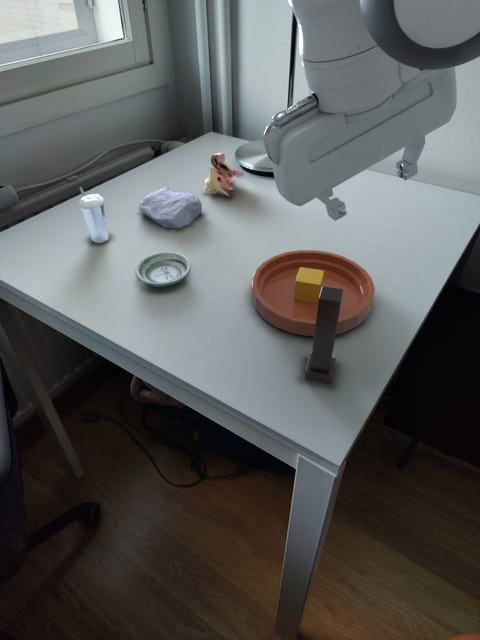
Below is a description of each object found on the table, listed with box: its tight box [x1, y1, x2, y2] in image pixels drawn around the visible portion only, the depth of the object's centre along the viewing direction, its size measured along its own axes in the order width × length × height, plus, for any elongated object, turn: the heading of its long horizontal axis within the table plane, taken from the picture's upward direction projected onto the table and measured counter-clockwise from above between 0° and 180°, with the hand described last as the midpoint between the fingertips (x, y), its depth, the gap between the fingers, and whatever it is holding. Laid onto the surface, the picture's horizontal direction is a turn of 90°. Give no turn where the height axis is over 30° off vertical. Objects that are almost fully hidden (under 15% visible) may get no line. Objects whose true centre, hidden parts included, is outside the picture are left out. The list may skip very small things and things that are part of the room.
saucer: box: [134, 251, 192, 288], centre depth 81 cm, size 10×10×2 cm
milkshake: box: [78, 186, 109, 244], centre depth 89 cm, size 5×5×10 cm
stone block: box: [138, 186, 203, 230], centre depth 98 cm, size 12×5×10 cm
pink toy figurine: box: [203, 152, 245, 197], centre depth 106 cm, size 9×10×10 cm
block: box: [294, 267, 324, 304], centre depth 75 cm, size 4×4×4 cm
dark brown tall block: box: [304, 286, 343, 385], centre depth 60 cm, size 4×4×14 cm
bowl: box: [251, 249, 376, 337], centre depth 76 cm, size 20×20×3 cm
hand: (372, 195), depth 52 cm, fingers open, 8 cm apart
